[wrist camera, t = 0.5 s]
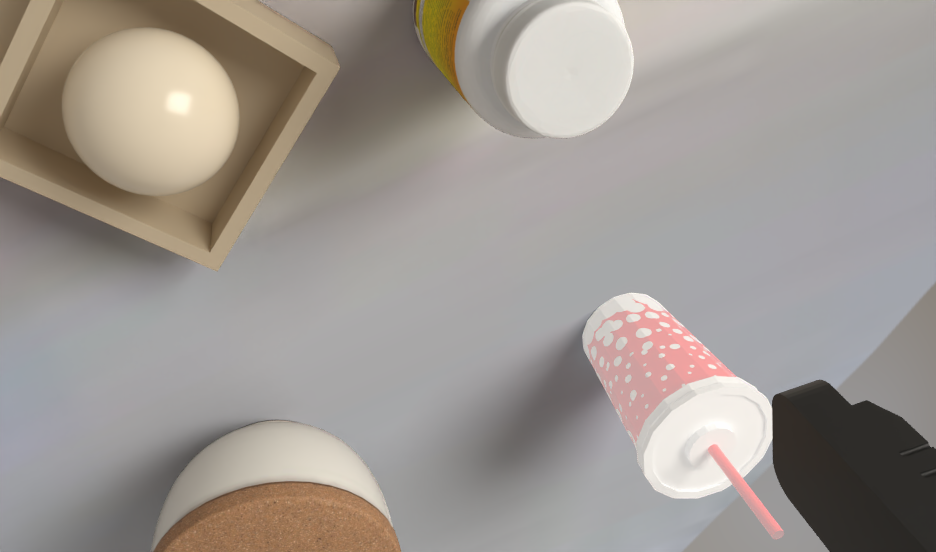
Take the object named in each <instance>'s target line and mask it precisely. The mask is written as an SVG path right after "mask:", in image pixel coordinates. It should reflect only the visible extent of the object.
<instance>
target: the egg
mask: <svg viewBox="0 0 936 552" xmlns="http://www.w3.org/2000/svg"><path fill="white" fill-rule="evenodd" d="M62 116H63V122H64V126H65V130H66V133H67V136H68V138H69V141H70V142H71V144H72V146H73V148H74V150H75V151H76V153H77V154H78V155H79V157H80V158H81V160H82V161H83V162H84V163H85V164H86V165H87V166H88V167H89V169H91V170H92V171H93V172H94V173H95V174H96V175H98V176H99V177H100V178H102V179H103V180H105V181H106V182H108V183H110V184H112V185H114V186H115V187H118V188H120V189H123V190H125V191H128V192H132V193H135V194H140V195H147V196H169V195H174V194H179V193H182V192H186V191H189V190H191V189H193V188H195V187H197V186H200V185H201V184H203V183H205V182H206V181H208V180H209V179H210V178H211V177H213V176H214V175H215V174H216V173H217V172H218V171H219V170H220V169H221V168H222V167H223V165H224V164H225V163H226V161H227V160H228V158H229V157H230V155H231V153H232V151H233V149H234V146H235V143H236V140H237V137H238V131H239V125H240V112H239V104H238V99H237V95H236V92H235V89H234V87H233V84H232V82H231V80H230V78H229V76H228V74H227V73H226V71H225V70H224V68H223V67H222V66H221V64H220V63H219V62H218V61H217V60H216V59H215V58H214V57H213V55H212V54H211V53H209V52H208V51H207V50H206V49H205V48H203V47H202V46H201V45H199V44H198V43H196V42H195V41H193V40H191V39H189V38H187V37H185V36H183V35H181V34H178V33H175V32H173V31H169V30H165V29H160V28H151V27H136V28H129V29H123V30H120V31H116V32H113V33H111V34H108V35H106V36H104V37H102V38H100V39H99V40H97V41H96V42H94V43H93V44H92V45H90V46H89V47H88V48H87V49H86V50H85V51H84V52H82V54H81V55H80V56H79V57H78V58H77V60H76V61H75V63H74V64H73V66H72V68H71V69H70V71H69V74H68V76H67V79H66V81H65V84H64V89H63V93H62Z"/></svg>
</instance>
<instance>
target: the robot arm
mask: <svg viewBox="0 0 936 552" xmlns="http://www.w3.org/2000/svg"><path fill="white" fill-rule="evenodd" d="M772 436H773V464H774V469H775V472H776V475H777V478H778V480H779V483H780V485H781V487H782V489H783V490H784V492H785V494H786V496H787V497H788V498H789V500H790V501H791V503H792V504H793V505H794V506H795V508H796V509H797V510H798V511H799V513H800V514H801V515H802V516H803V518H804V519H805V520H806V522H807V523H808V524H809V526H810V527H811V528H812V529H813V531H814V532H815V533H816V535H817V536H818V537H819V538H820V540H821V541H822V542H823V543H824V545H825V546H826V547H827V549H828V550H829V551H830V552H936V449H935V448H934V447H932V448H931V447H930V446H929V444H928V442H927V441H926V440H925V439H924V438H923V437H922V436H921V435H920V434H919V433H918V432H917V431H915V429H913V428H912V427H911V426H910V425H909V424H908V423H907V422H906V421H905V420H904V419H903V418H902V417H900V416H898V415H895V414H894V413H892V412H890V411H887V410H885V409H883V408H881V407H879V406H877V405H875V404H873V403H871V402H869V401H863V402H860V403H857V404H855V405H851V404H849V403H848V402H847V401H846V400H845V399H844V398H843V397H842V396H841V395H840V394H839V393H838V392H837V391H836V390H835V389H834V388H833V387H832V386H831V385H830V384H829V383H827V382H826V381H823V380H816V381H813V382H811V383H808V384H805V385H802V386H799V387H796V388H793V389H790V390H787V391H785V392H782V393H779V394H776V395H775V396H774V397H773V400H772Z"/></svg>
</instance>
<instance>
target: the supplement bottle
mask: <svg viewBox="0 0 936 552" xmlns="http://www.w3.org/2000/svg"><path fill="white" fill-rule="evenodd" d="M413 20H414V26H415V30H416V34H417V36H418V39H419V42H420V43H421V45H422V47H423V49H424V51H425V52H426V54H427V55H428V57H429V58H430V59H431V60H432V62H433V63H434V64H435V65H436V66H437V67H438V69H439V70H440V71H441V72H442V73H443V74H444V76H445V77H446V78H447V79H448V81H449V82H450V83H451V84H452V85H453V86H454V88H455V89H456V90H457V91H458V92H459V94H460V95H461V96H462V98H463V99H464V100H465V101H466V102H467V103H468V104H469V105H470V107H471V108H472V109H473V110H474V111H475V112H476V113H477V114H478V115H479V116H480V117H481V118H482V119H483V120H484V121H486V122H487V123H488V124H490V125H491V126H493V127H494V128H496V129H498V130H500V131H502V132H504V133H507V134H510V135H513V136H517V137H523V138H545V137H549V138H557V139H565V138H573V137H577V136H580V135H583V134H586V133H588V132H590V131H592V130H594V129H595V128H597V127H599V126H600V125H602V124H603V123H604V122H605V121H606V120H608V119H609V118H610V117H611V116H612V115H613V114H614V112H615V111H616V110H617V109H618V107H619V106H620V104H621V103H622V101H623V100H624V98H625V96H626V94H627V91H628V89H629V86H630V83H631V80H632V75H633V64H634V57H633V49H632V45H631V41H630V39H629V36H628V33H627V31H626V30H625V24H624V19H623V16H622V12H621V9H620V6H619V4H618V2H617V0H414V3H413Z"/></svg>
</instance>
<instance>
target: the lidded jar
mask: <svg viewBox="0 0 936 552" xmlns="http://www.w3.org/2000/svg"><path fill="white" fill-rule="evenodd" d="M151 552H401V549H400V545H399V542H398V539H397V536H396V534H395V531H394V529H393V525H392V521H391V518H390V514H389V511H388V508H387V505H386V502H385V499H384V496H383V494H382V492H381V489H380V487H379V484H378V483H377V481H376V479H375V478H374V476H373V474H372V473H371V471H370V469H369V468H368V466H367V464H366V463H365V462H364V461H363V460H362V458H361V457H360V456H359V455H358V454H357V453H356V452H355V451H354V450H353V449H352V448H351V447H350V446H349V445H348V444H346V443H345V442H344V441H342V440H341V439H339V438H338V437H336V436H334V435H332V434H330V433H328V432H326V431H324V430H323V429H320V428H317V427H314V426H311V425H307V424H302V423H297V422H292V421H285V420H270V421H263V422H257V423H254V424H251V425H248V426H245V427H243V428H240V429H237V430H235V431H233V432H230V433H228V434H226V435H224V436H222V437H221V438H219V439H217V440H216V441H214V442H212V443H211V444H210V445H208V446H207V447H206V448H205V449H203V450H202V451H201V452H200V453H199V454H197V455H196V456H195V457H194V458H193V459H192V460H191V461H190V463H189V464H188V465H187V466H186V467H185V468H184V470H183V471H182V472H181V474H180V475H179V476H178V478H177V479H176V481H175V483H174V484H173V486H172V488H171V489H170V491H169V494H168V496H167V498H166V500H165V502H164V505H163V507H162V510H161V513H160V515H159V519H158V522H157V525H156V528H155V531H154V537H153V542H152V547H151Z"/></svg>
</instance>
